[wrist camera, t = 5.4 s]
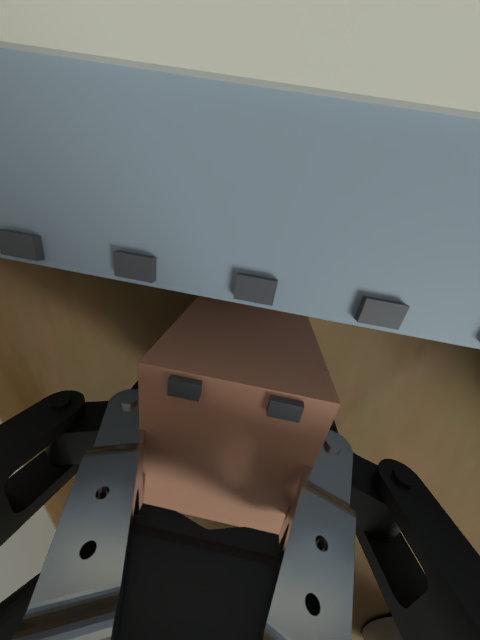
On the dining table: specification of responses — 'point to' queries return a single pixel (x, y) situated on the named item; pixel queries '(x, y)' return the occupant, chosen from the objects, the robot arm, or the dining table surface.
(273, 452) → the stub
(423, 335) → the block
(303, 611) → the robot arm
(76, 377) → the dining table surface
